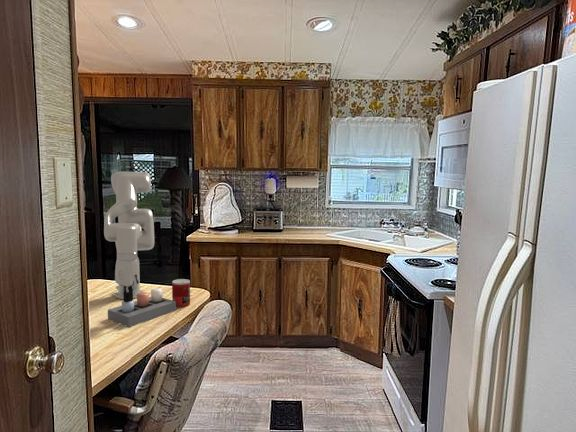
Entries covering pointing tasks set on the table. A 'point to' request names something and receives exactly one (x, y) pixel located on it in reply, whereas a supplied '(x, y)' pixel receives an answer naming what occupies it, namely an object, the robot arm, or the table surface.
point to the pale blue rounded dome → (127, 307)
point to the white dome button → (156, 295)
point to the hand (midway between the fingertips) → (128, 300)
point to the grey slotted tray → (141, 312)
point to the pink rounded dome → (142, 299)
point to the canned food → (181, 292)
